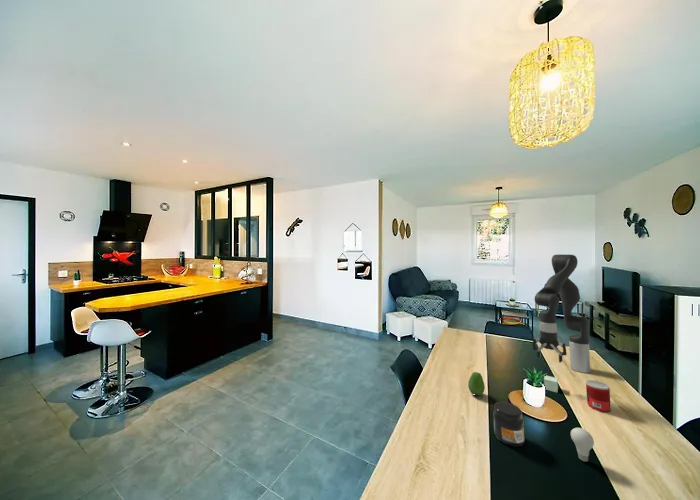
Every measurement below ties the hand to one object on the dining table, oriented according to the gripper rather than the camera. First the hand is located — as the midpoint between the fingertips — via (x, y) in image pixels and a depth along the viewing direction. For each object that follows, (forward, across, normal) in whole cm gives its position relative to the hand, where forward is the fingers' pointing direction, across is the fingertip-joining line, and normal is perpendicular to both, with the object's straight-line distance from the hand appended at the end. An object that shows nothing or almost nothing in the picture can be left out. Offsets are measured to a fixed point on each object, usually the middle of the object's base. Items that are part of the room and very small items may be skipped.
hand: (549, 360), depth 135 cm
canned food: (+16, -18, +7) cm, 25 cm away
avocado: (+16, +29, +31) cm, 45 cm away
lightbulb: (+16, -12, +52) cm, 56 cm away
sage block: (+16, 0, 0) cm, 16 cm away
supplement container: (+16, +10, +56) cm, 59 cm away
